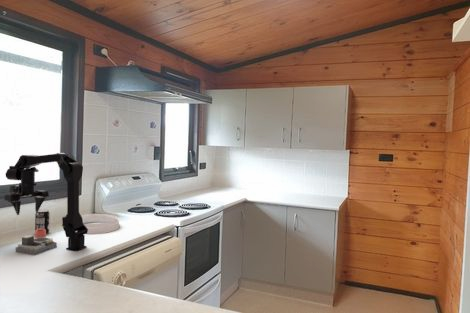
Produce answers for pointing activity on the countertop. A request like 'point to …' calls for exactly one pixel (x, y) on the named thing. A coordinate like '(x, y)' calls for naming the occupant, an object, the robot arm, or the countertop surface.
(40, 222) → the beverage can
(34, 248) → the breaker panel
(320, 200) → the countertop surface
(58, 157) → the robot arm
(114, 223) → the pale pink ring
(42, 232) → the cap
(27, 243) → the block
